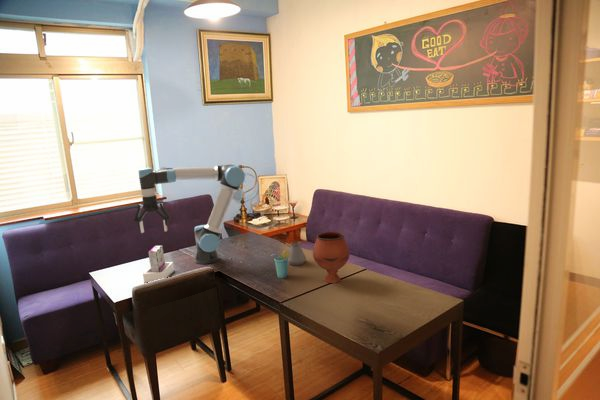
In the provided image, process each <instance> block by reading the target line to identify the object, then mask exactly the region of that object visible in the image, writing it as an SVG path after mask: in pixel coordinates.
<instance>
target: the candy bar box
mask: <svg viewBox="0 0 600 400" xmlns="http://www.w3.org/2000/svg"><path fill="white" fill-rule="evenodd" d="M148 257H149V263H150V264H149V265H150V267H151V272H162V271H163V270H164V269H165V268H166V267H165V262H166V260H165V254H164V248H163V245H154V246H153V247H152V248H151V249H150V250H149V251H148Z"/></svg>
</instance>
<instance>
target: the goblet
mask: <svg viewBox="0 0 600 400" xmlns="http://www.w3.org/2000/svg"><path fill="white" fill-rule="evenodd" d="M312 257H313V260H314V262H315V263H316V264H317V265H318V266H319V267H320V268H321V269H323V270H325V271H326V273H327V274H326V275H325V277H324V279H323V280H324V282H325V283H328V284H336V283H338V282H340V281H341V277H340V276H339V274H338V273H339V270H340V269H342V268H343V267H344V266H345V265H346V264H347V262H348V261H349V259H350V249H349V247H348V243H347V241H346V239H345V235H344V233H343V232H340V231H327V232H322V233H319V234H317V235H316V240H315V242H314V245H313V249H312Z"/></svg>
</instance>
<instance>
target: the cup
mask: <svg viewBox="0 0 600 400" xmlns="http://www.w3.org/2000/svg"><path fill="white" fill-rule="evenodd" d="M273 256H274V258H273V261H274V264H275V270H276V276H277V278H278V279H284V278H287V277H288V258H289V256H290V250H286V249H285V250H283V252H282V253H281V255H277V254H276V253H272V254H271V255H270V258H272V257H273Z"/></svg>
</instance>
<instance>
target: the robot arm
mask: <svg viewBox="0 0 600 400" xmlns="http://www.w3.org/2000/svg"><path fill="white" fill-rule="evenodd" d="M245 175H246V174H245V172H244V170H243V169H242V168H241V167H240V166H237V165H234V164H223V165H215V166H214V167H212V166H211V167H210V166H209V167H166V166H165V167H163V166H162V167H160V168H159V169H158V170H153V168H152V167H144V168H143V167H142V168H139V170H138V176H139V178H138V179H139V185H140V190H141V191H140V192H141V197H142V199H141V200H142V203H141V204H140V203H139V204H137V210H136V213H135V216H134V219H133V221H134V222H137V226H138V227H139V228H140V233H141V234H143V233H145V228H144V222H143V218H144V217H145V215H146V214H147V213H150V212H151V213H152V212H153V213H154V212H155V213H156V214H157V215H159V217H161V218H162V219H163V220H162V222H163V229H164V232H167V231H168V226H169V221H168V220H170V219H171V215H170V214H169V212H168V211H167V209H166V207H165V205H164V203H163V202H161V203H158V200H157V195H156V194H157V191H156V185H160V184H162V185H163V184H171V183H175V182H176V181H190V180H191V181H200V180H201V181H203V180H205V181H206V180H207V181H209V180H213V181H214V180H215V181H216V182H219V186H220V189H219V191H218V195H217V197H216V200H215V202H214V205H213V207H212V210H211V212H210V213H211V214H210V215H209V217H208V220H207V223H206V224H200V225H196V226H194V231H193V232H194V239H195V245H196V252H195V257H194V262H195V263H197V264H199V265H200V264H201V265H202V264H203V265H206V264H211V263H212V264H213V263H215V262H218V261H219V259H220V255H219V253H218V252H219V251H218V248H219V246H220V241H221V240H220V239H221V235H222V233H223V232H222V226H223V224H224V221H225V218H226V216H227V213H228V211H229V207H230V206H231V203H232V200H233V197H234V196H235V193H236V192H238V191H239V189H240V187H241V186H242V184H243V183H244V181H245V178H246V176H245ZM158 207H159V208H160V209H159V208H158ZM142 209H144V210H143V212H142ZM141 212H142V213H141Z"/></svg>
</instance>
